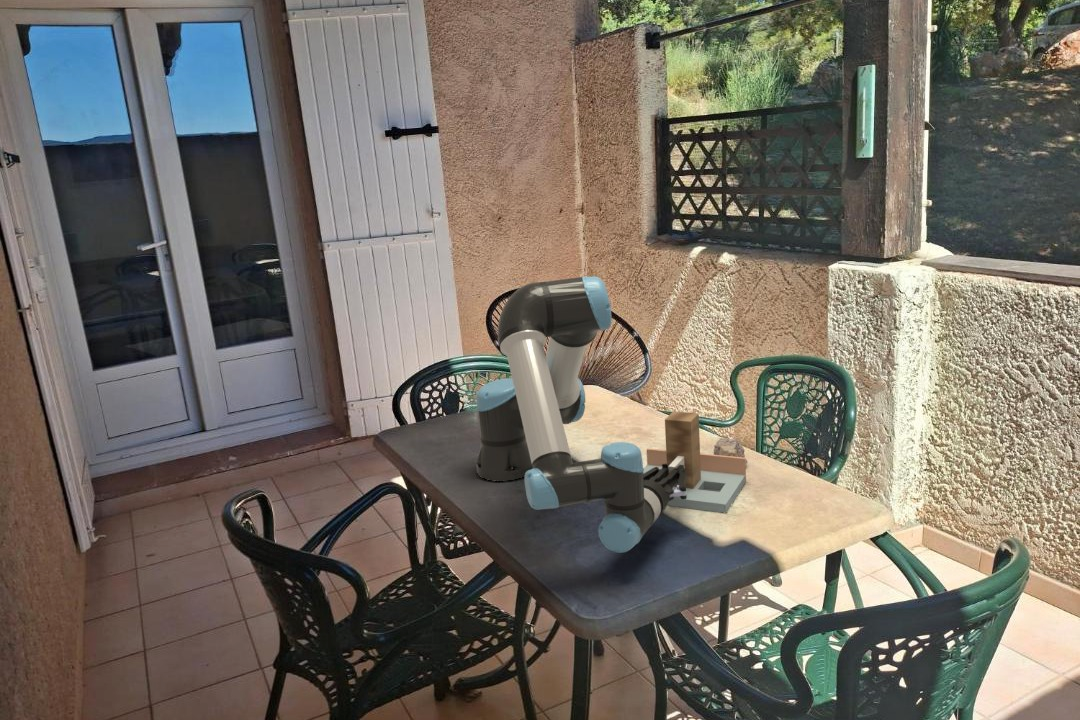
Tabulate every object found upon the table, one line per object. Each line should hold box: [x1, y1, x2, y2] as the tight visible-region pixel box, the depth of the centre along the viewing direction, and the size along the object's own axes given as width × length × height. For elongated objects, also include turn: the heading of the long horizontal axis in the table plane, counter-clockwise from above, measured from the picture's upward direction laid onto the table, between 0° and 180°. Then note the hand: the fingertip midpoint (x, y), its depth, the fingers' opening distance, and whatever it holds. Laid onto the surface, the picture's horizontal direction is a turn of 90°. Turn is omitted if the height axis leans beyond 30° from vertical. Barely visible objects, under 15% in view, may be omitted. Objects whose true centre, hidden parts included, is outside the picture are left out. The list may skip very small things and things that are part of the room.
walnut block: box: [664, 411, 701, 489], centre depth 186 cm, size 6×6×16 cm
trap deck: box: [643, 447, 747, 514], centre depth 188 cm, size 24×18×6 cm
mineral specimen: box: [713, 437, 748, 464], centre depth 200 cm, size 13×7×6 cm, turn 6°
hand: (681, 461), depth 183 cm, fingers closed
